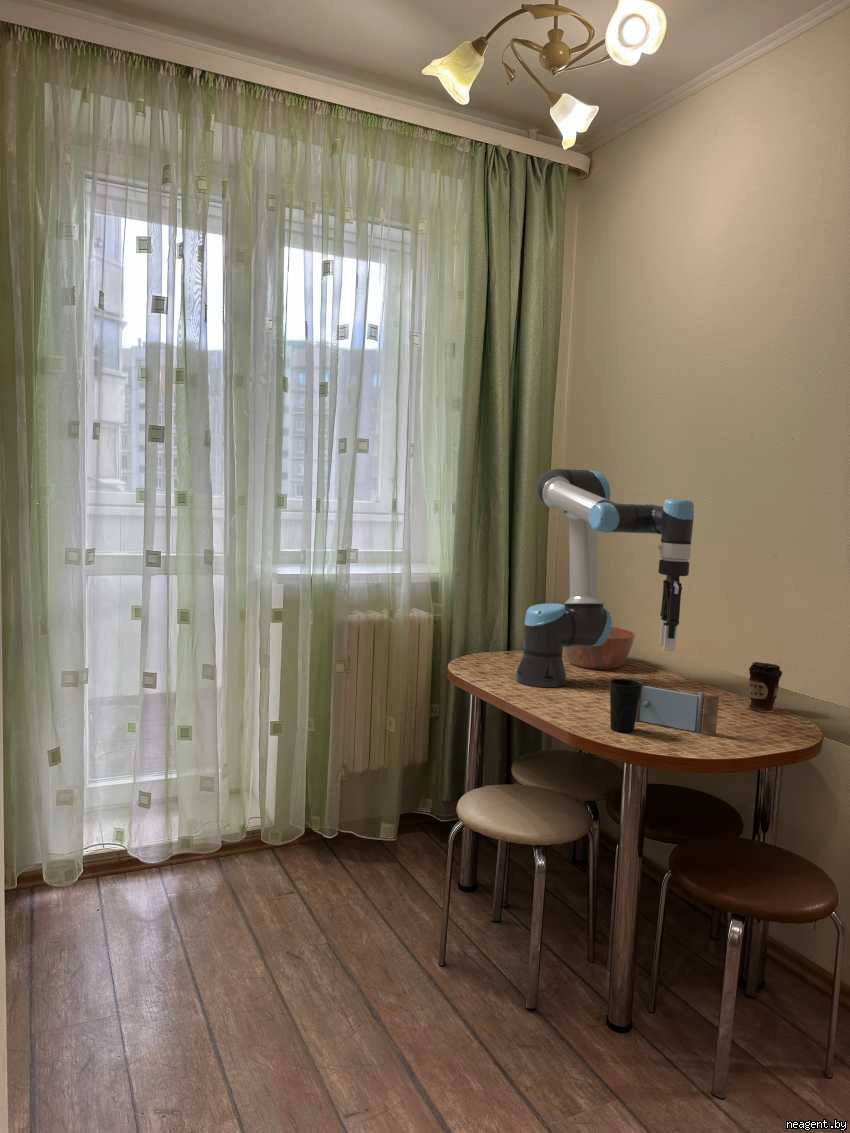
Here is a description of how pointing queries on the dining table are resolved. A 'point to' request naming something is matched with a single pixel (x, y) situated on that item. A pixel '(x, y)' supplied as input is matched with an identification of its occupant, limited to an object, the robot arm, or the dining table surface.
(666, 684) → the dining table surface
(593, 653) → the bowl
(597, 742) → the dining table surface
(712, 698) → the door frame
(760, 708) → the coffee cup
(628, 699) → the cup
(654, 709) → the door
